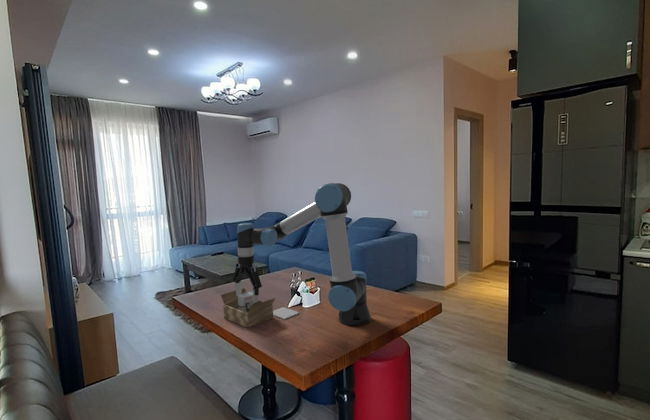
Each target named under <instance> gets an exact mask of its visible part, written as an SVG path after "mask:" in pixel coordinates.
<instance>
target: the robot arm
mask: <svg viewBox="0 0 650 420" xmlns="http://www.w3.org/2000/svg"><path fill="white" fill-rule="evenodd" d="M351 200H352V192H351V190H350V188H349V187H348V186H347V185H346V184H343V183H340V182H339V183H337V182H336V183H333V182H328V183H326V184H323V185H321V186H320V187H318V189H317V190H316V192H315V195H314V201H313V202H312V203H311V204H309V205H307V206H304V208H302V209H300V210H299V211H297V212H295V213H293V214H291V215H290V216H288V217H287V218H285V219H283V220H282V221H279V222H278V223H276V224H274V225H272V226H268V227H264V228H263V227H262V228H259V227H257V228H255V227H254V224H253V223H250V222H246V223H245V222H244V223H239V224H238V225H237V227H236V228H237V229H236V237H237V238H236V239H237V255H238V256H237V263H236V264H235V270H234V273H233V277H232V281H233V282H234V284H235V291H236V296H238V295H240V294H242V289H243V288H242V287H243V286H242V279H243V277H244V276H246V277H247V278H248V279H249V281H250V283H251V285H252V287H253V288H252V292H253V302H257V301H259V300H260V299H259V295H260V291H259V289H260V288H262V287H263V285H262V281H261V279H260V276H259V273H258V267H257V266H253V264H254V263H255V256H254V254H255V253H254V251H255V249H254V246H255V245H265V246H273V245H275V244H276V243H277V241H280V240H283V239H284V238H286V237H287V236H288V235H290V234H292V233H293V232H296V231H297V230H299V229H301V228H302V227H305V226H306V225H308V224H311V223H312V222H314V221H316V220H317V219H319V218H322V219H323V220H324V221H325V222H324V223H325V231H326V236H327V238H326V239H327V244H328V245H327V246H328V251H329V252H328V253H329V259H330V268H331V274H332V275H331V276H330V277H329V285H330V289H329V290H328V294H327V297H328V298H327V300H328V302H329V305H330V306H331V307H332V308H333V309H335V310H336V311H339V312H338V321H339V322H340V323H341V324H343V325H345V324H346V325H347V326H351V325H360V326H363V324H365V325H367V324H369V323H370V322H371V320H372V319H371V312H370V309H369V306H368V303H367V297H368V296H367V293H368V292H367V274H366V272H364V271H361V270H352V269H353V268H352V262H351V253H350V246H349V239H348V238H349V237H348V232H347V224H346V216H348V214H349V212H348V205H349V204H350V202H351ZM369 321H370V322H369ZM368 322H369V323H368ZM366 323H367V324H366Z"/></svg>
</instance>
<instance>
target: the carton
mask: <svg viewBox="0 0 650 420" xmlns="http://www.w3.org/2000/svg"><path fill="white" fill-rule="evenodd" d="M247 292H248V291H247V290H246V288H245V287H243V288H242V294H244V293H247ZM220 297H221V300H222V302H223V305H222V306H223V318H224V319H226V320H228V321H231V322H232V323H235V324H237V325H239V326H241V327H245V328H246V329H248V328H251V327H254V326H256V325H259V324H261V323H263V322H266V321H268V320H271V319H273V318H274V316H273V311H274V302H275V300H276V297H273V298H270V299H268V300H264V301H263V300H260V299H259V301H258V304H255V305H252V306H251V307H250V310H249V312H248V313H245V312H243V311H240V310H238V296H236V290H234V291H229V292H227V293H223V294H220Z"/></svg>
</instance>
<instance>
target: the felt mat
mask: <svg viewBox="0 0 650 420" xmlns="http://www.w3.org/2000/svg"><path fill="white" fill-rule="evenodd" d="M297 315H300V312H299V311H296V310H293V309H290V308H288V307H284V306H283V307H280V308H277V309H273V317H275V318H278V319H281V320H282V321H283V320H284V321H285V320H287V319H289V318H293V317H295V316H297Z"/></svg>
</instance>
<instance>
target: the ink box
mask: <svg viewBox="0 0 650 420" xmlns="http://www.w3.org/2000/svg"><path fill="white" fill-rule="evenodd" d="M246 292H247V293H244V294H240V295H238V310H240V311H243V312H245V313H248V312H249V310H250V307H251V306H252V305H255V304H258V301H257V302H253V290H252V291H246Z"/></svg>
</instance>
